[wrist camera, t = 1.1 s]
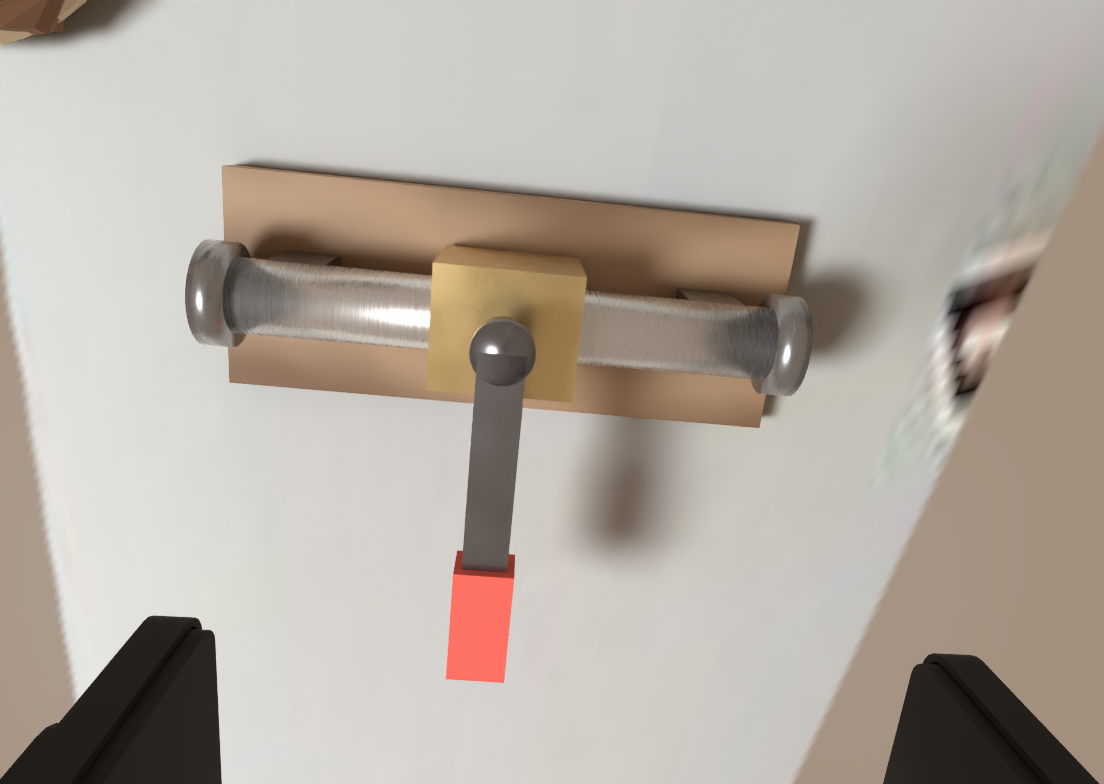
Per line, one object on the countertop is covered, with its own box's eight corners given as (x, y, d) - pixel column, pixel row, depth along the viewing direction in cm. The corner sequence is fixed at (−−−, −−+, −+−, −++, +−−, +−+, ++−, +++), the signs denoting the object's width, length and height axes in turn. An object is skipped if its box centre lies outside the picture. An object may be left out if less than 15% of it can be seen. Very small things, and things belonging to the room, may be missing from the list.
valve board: (234, 165, 34) (142, 172, 26) (789, 221, 36) (866, 245, 28) (240, 373, 37) (160, 438, 29) (750, 417, 39) (809, 490, 31)
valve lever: (474, 310, 28) (470, 321, 26) (538, 316, 28) (538, 327, 26) (450, 650, 33) (446, 679, 31) (505, 654, 33) (503, 682, 31)
